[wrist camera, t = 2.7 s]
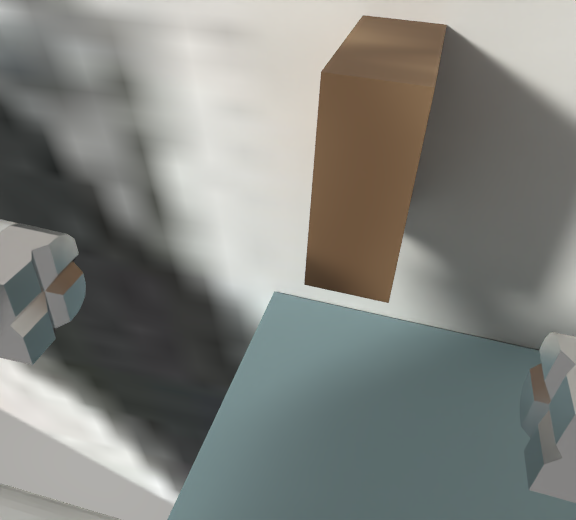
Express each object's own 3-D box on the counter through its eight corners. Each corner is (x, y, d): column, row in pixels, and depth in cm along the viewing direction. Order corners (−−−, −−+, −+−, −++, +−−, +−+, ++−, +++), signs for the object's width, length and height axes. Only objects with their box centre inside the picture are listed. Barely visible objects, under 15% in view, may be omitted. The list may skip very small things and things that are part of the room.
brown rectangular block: (446, 24, 12) (434, 88, 9) (408, 204, 15) (388, 303, 12) (363, 15, 13) (321, 71, 9) (342, 192, 16) (304, 284, 12)
